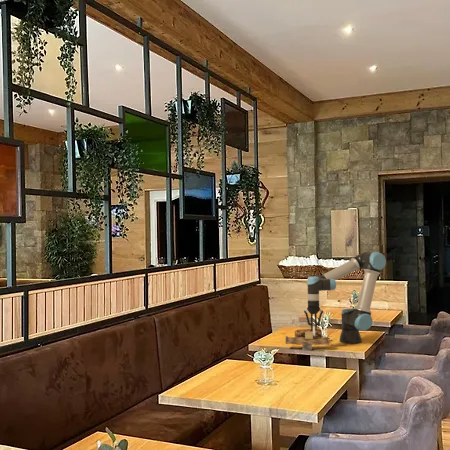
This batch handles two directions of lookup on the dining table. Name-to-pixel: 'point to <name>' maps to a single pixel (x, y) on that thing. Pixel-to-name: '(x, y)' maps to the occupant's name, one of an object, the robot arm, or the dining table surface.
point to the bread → (302, 332)
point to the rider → (308, 335)
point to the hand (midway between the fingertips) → (313, 335)
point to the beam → (307, 342)
